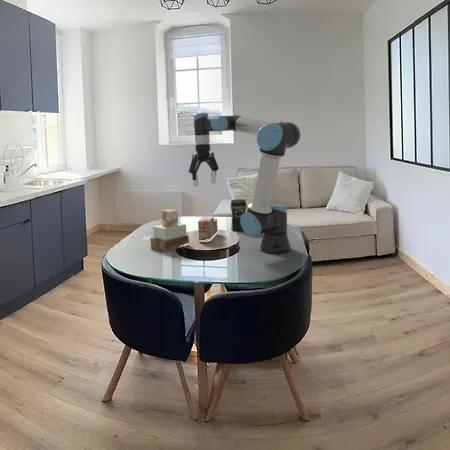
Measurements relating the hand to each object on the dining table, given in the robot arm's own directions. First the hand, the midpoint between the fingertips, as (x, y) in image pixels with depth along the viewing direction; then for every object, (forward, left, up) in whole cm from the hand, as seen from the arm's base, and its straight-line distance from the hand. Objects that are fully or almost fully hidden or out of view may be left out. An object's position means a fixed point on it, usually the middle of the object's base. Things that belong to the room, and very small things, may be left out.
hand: (205, 184), depth 262 cm
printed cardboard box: (+9, -10, -32) cm, 35 cm away
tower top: (+11, +16, -26) cm, 33 cm away
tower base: (+11, +16, -32) cm, 38 cm away
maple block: (+11, +16, -20) cm, 28 cm away
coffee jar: (+9, -36, -32) cm, 49 cm away
